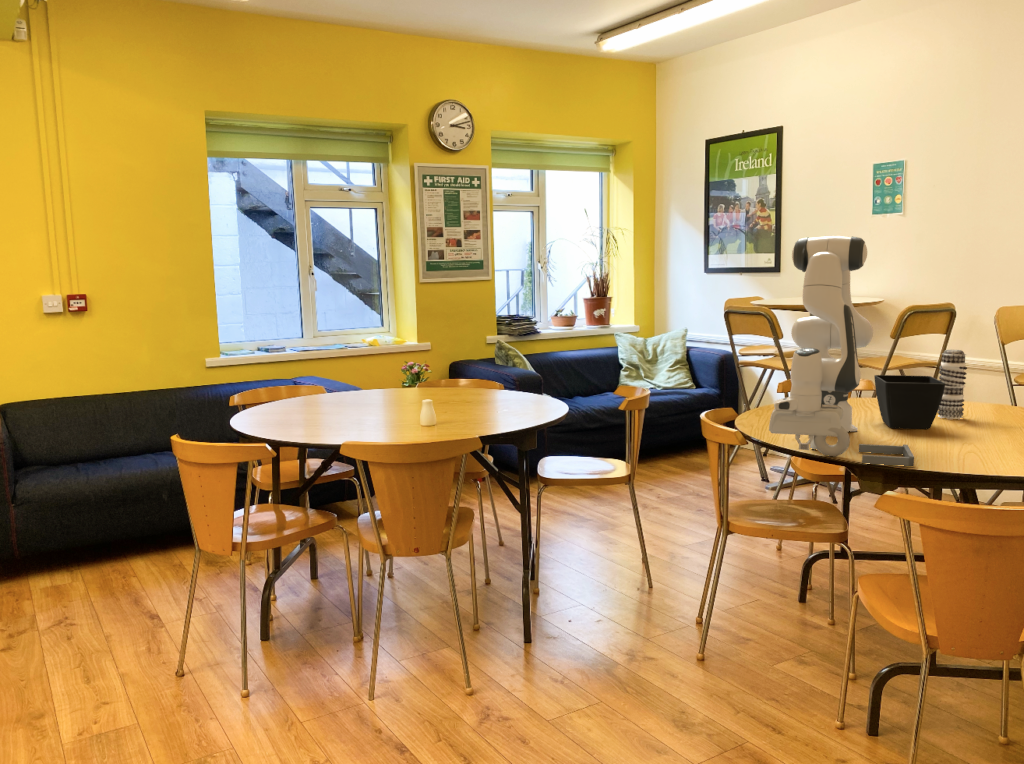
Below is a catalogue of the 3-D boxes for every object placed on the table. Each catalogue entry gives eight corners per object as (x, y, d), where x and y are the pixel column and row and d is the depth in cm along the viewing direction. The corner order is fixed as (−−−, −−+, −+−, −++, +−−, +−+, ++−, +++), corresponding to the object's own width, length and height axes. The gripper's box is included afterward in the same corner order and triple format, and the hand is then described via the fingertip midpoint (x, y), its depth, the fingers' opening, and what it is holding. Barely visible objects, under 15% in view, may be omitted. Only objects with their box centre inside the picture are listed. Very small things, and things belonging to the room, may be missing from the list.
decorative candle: (957, 415, 312) (961, 349, 309) (968, 419, 303) (972, 351, 300) (932, 415, 313) (935, 349, 310) (942, 419, 304) (946, 351, 301)
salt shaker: (810, 447, 258) (811, 419, 256) (822, 448, 256) (823, 420, 255) (810, 450, 254) (811, 421, 253) (822, 451, 253) (823, 422, 252)
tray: (858, 452, 251) (859, 442, 250) (906, 454, 246) (907, 444, 246) (862, 464, 235) (862, 453, 235) (913, 467, 231) (914, 456, 230)
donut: (849, 456, 245) (850, 423, 243) (848, 459, 242) (850, 425, 240) (813, 454, 249) (814, 421, 248) (812, 456, 246) (813, 422, 245)
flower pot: (943, 431, 281) (946, 382, 279) (883, 430, 285) (886, 381, 283) (927, 422, 299) (930, 375, 297) (871, 420, 303) (873, 374, 301)
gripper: (842, 403, 246) (841, 449, 247) (770, 400, 252) (769, 445, 254) (843, 406, 240) (841, 453, 241) (769, 403, 247) (768, 449, 248)
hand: (803, 449), depth 248 cm, fingers closed
